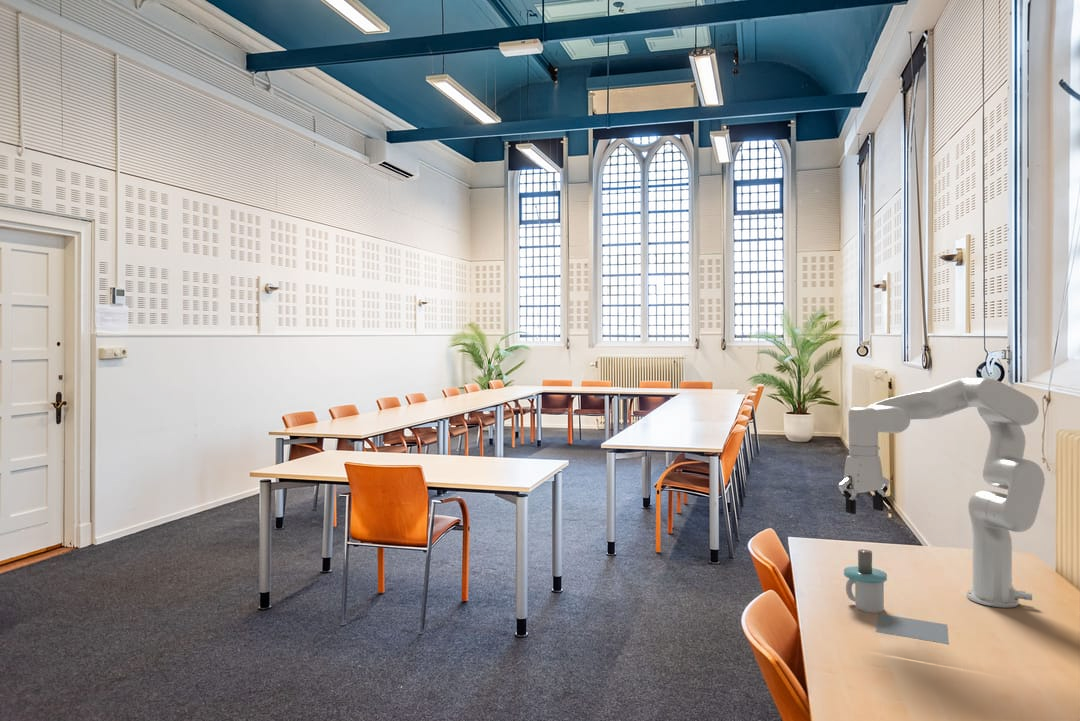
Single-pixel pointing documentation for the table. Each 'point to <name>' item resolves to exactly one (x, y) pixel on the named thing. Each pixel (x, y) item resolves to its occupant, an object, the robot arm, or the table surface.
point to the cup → (867, 595)
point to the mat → (913, 628)
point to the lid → (865, 569)
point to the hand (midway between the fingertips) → (864, 511)
